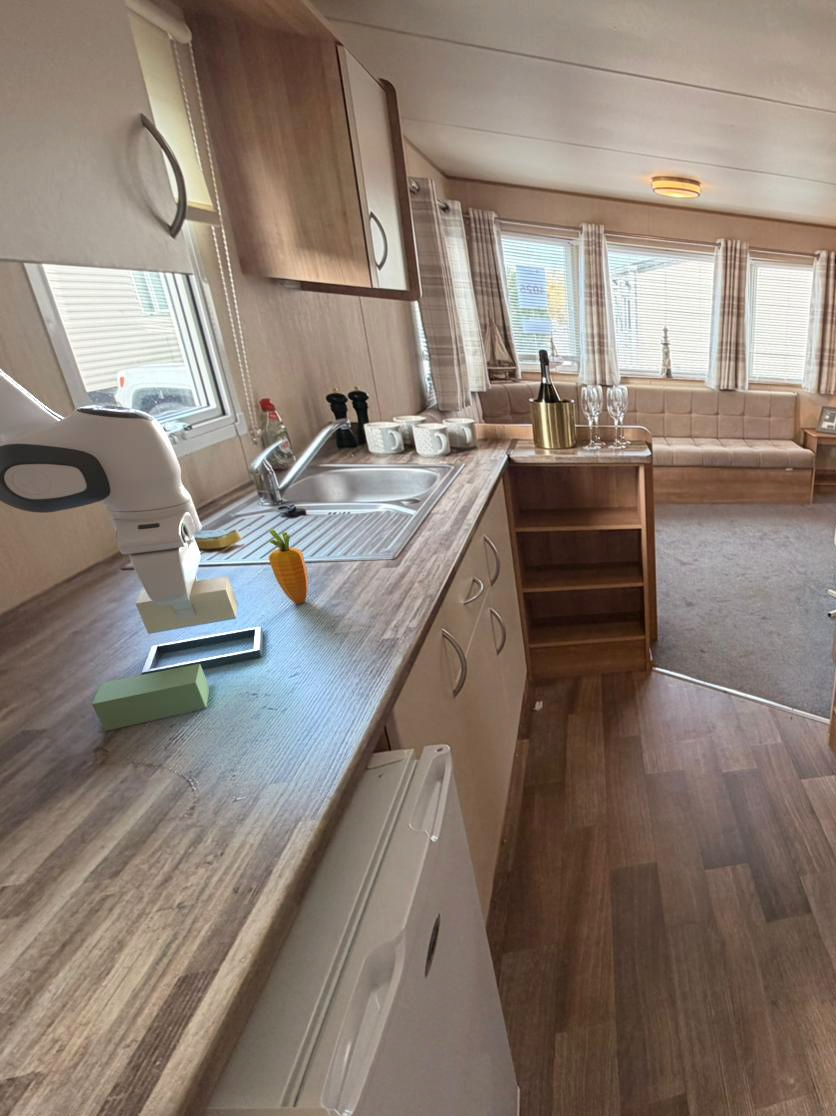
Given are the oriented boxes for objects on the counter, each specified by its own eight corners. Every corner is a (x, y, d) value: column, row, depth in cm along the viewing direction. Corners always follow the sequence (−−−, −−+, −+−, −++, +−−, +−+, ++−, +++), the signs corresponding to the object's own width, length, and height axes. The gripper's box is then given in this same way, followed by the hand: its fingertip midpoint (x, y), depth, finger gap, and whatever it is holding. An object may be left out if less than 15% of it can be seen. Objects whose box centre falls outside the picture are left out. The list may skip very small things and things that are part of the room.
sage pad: (107, 736, 83) (91, 704, 81) (116, 713, 88) (101, 682, 85) (208, 713, 89) (195, 682, 87) (211, 692, 93) (200, 663, 91)
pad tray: (146, 685, 94) (140, 672, 93) (155, 657, 101) (150, 645, 100) (263, 661, 101) (259, 649, 101) (264, 637, 108) (261, 626, 108)
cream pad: (148, 634, 93) (135, 603, 91) (154, 618, 98) (141, 588, 96) (236, 618, 99) (225, 589, 97) (238, 604, 103) (228, 576, 101)
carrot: (320, 606, 120) (298, 531, 113) (288, 614, 116) (264, 536, 110) (313, 598, 123) (291, 524, 116) (281, 605, 119) (257, 529, 113)
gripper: (139, 506, 98) (172, 588, 103) (113, 547, 83) (153, 640, 89) (194, 501, 101) (222, 581, 107) (178, 539, 86) (212, 629, 92)
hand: (191, 608), depth 98 cm, fingers closed on cream pad, 6 cm apart
